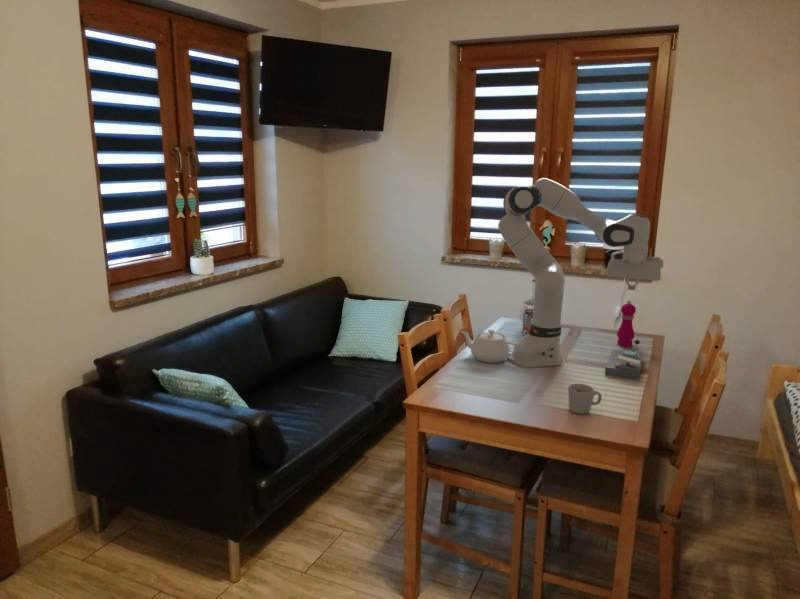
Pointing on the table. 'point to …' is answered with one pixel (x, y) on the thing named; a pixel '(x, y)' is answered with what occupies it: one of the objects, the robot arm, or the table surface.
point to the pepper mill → (626, 325)
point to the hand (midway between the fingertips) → (631, 289)
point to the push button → (630, 353)
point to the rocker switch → (628, 360)
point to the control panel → (623, 366)
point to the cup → (582, 398)
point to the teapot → (490, 347)
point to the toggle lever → (635, 344)
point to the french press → (528, 312)
